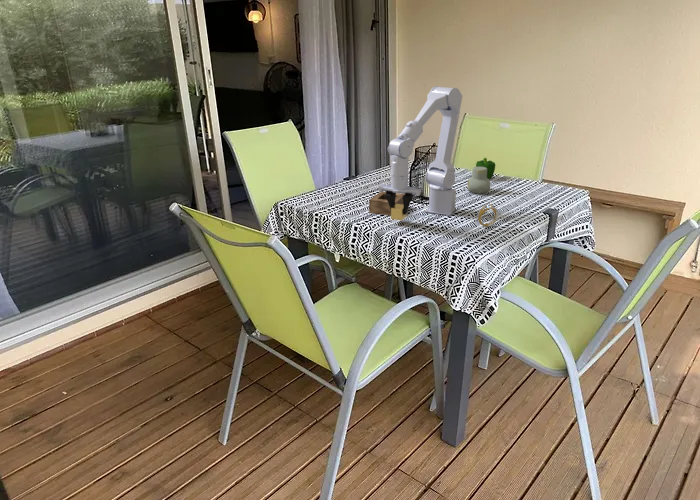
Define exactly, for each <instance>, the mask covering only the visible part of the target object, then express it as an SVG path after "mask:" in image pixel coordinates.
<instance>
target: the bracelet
mask: <svg viewBox="0 0 700 500" xmlns="http://www.w3.org/2000/svg"><path fill="white" fill-rule="evenodd" d="M488 210H492V211H493V213H494V216H493V220H492V221H491V222H490V223H487V222H486V223H483V221H482V217H483V215H484V214H485V212H487V211H488ZM498 217H499V212H498V209H497V208H496V207H495V205H494V204H492V203H486V204H484V205H483V206H482V207H481V208H480V209H479V211H478V215H477V221H478V223H479V224H480V225H481V226H483V227H486V228H489V227H491V226H492V225H494V224H495V223H496V222H497V220H498Z"/></svg>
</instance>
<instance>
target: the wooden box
mask: <svg viewBox="0 0 700 500" xmlns="http://www.w3.org/2000/svg"><path fill="white" fill-rule="evenodd" d="M385 194H386V192H385V191H382V192H380V191H379V192H378V193H377V194H375V195H374V196H372V197H371V198H370V199H369V200H368V204H369V205H368V211H369V212H368V213H370V214H378V215H384V216H390V217H391V210H390V206H389V203H388V201H387V199H386V197H385ZM404 195H405V194H403V193H396V197H395V205H396V204H402V205H403V196H404Z"/></svg>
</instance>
